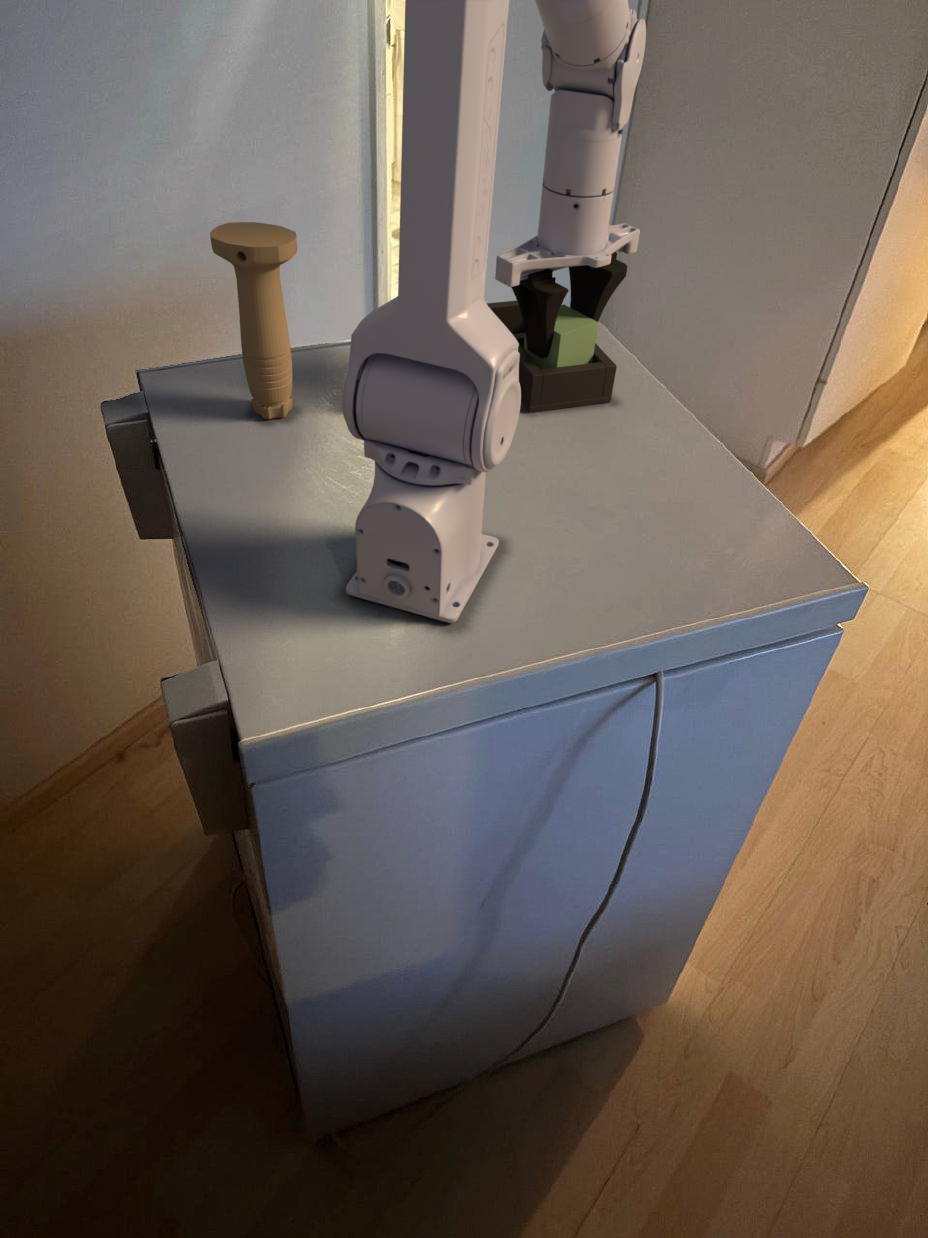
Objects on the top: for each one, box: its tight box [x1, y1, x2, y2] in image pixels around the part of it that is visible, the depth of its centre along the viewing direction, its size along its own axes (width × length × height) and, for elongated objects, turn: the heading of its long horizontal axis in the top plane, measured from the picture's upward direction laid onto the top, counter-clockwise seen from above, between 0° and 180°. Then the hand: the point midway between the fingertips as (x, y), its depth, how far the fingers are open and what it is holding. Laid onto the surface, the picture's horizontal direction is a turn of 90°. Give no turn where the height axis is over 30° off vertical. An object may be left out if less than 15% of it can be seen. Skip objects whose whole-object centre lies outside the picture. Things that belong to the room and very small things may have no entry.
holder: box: [486, 300, 618, 414], centre depth 84 cm, size 8×15×4 cm, turn 18°
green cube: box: [524, 303, 599, 369], centre depth 80 cm, size 4×4×4 cm
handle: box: [209, 221, 298, 420], centre depth 72 cm, size 5×6×15 cm
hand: (558, 346), depth 80 cm, fingers closed on green cube, 4 cm apart
